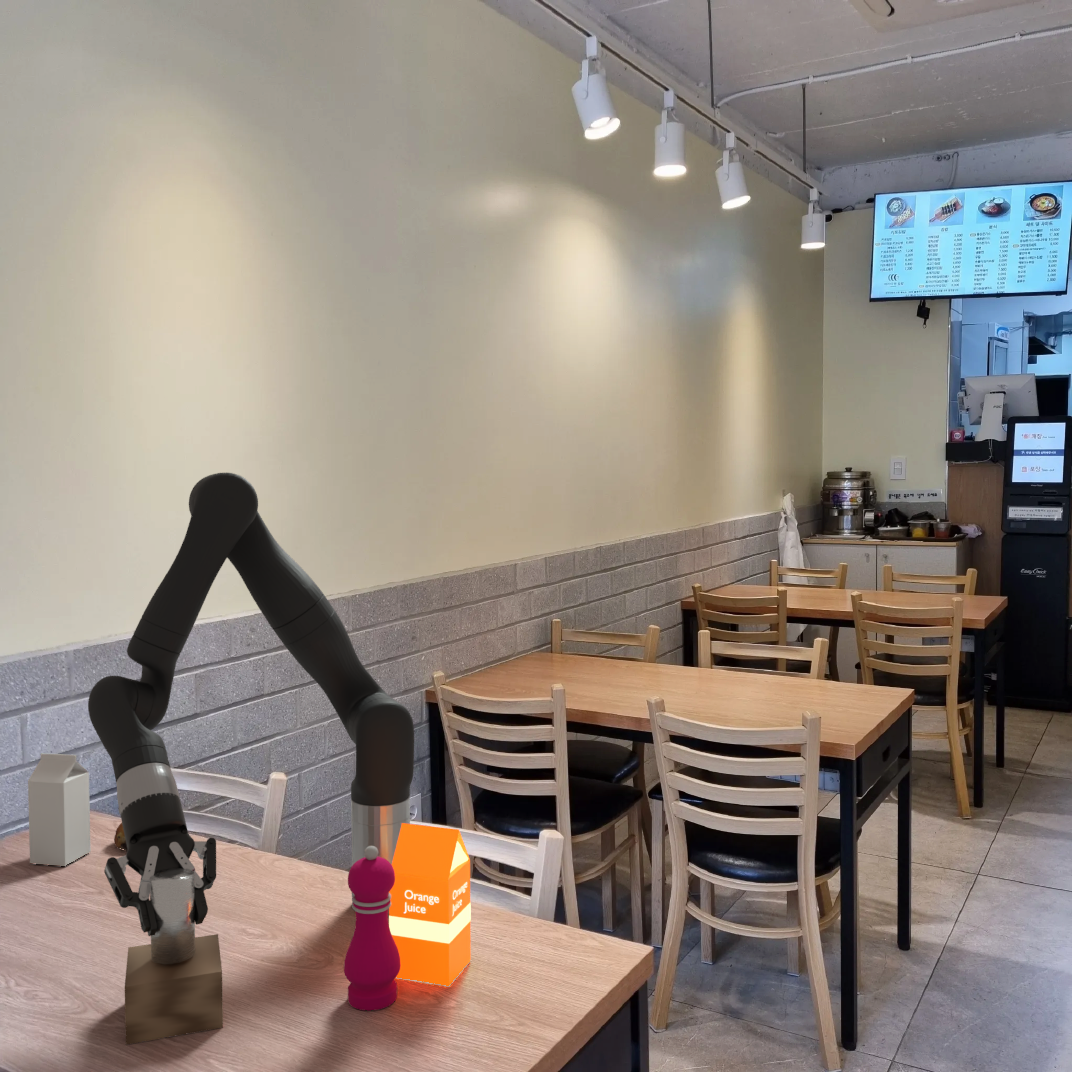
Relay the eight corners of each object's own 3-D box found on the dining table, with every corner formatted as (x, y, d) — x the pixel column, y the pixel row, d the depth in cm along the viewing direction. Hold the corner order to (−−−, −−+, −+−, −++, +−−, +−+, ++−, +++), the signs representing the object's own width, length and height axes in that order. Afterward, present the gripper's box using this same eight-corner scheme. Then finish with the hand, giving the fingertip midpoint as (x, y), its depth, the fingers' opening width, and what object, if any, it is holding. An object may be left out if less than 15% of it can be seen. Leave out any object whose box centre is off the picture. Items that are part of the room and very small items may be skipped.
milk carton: (65, 867, 174) (62, 760, 173) (29, 865, 176) (26, 758, 175) (91, 853, 181) (88, 750, 180) (56, 850, 183) (54, 748, 182)
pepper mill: (375, 1019, 123) (373, 860, 123) (332, 1003, 127) (330, 849, 126) (412, 994, 130) (411, 843, 129) (370, 980, 133) (368, 833, 133)
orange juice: (449, 988, 131) (448, 839, 130) (388, 978, 134) (387, 832, 133) (471, 962, 139) (470, 820, 138) (414, 953, 141) (412, 814, 141)
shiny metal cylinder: (194, 942, 128) (193, 865, 128) (195, 960, 123) (194, 880, 123) (151, 948, 126) (150, 871, 126) (150, 967, 121) (149, 886, 121)
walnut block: (218, 986, 132) (218, 934, 132) (222, 1027, 122) (222, 971, 121) (129, 1000, 128) (128, 947, 128) (125, 1044, 118) (124, 987, 118)
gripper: (96, 801, 126) (120, 928, 116) (210, 782, 134) (241, 899, 125) (88, 831, 130) (111, 955, 121) (199, 810, 139) (228, 926, 129)
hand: (177, 926), depth 123 cm, fingers closed on shiny metal cylinder, 5 cm apart
